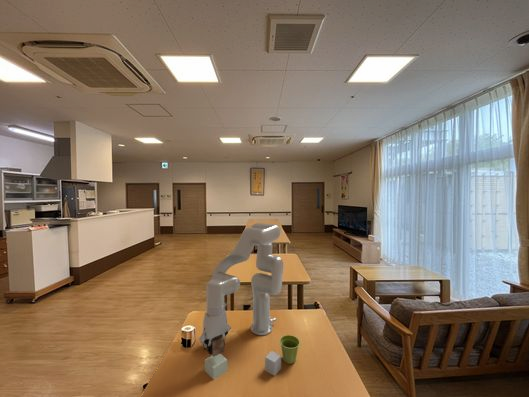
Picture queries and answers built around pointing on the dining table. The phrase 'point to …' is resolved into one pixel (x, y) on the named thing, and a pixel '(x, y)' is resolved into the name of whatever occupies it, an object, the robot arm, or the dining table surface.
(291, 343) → the plant pot
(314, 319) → the dining table surface
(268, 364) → the grey block
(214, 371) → the base block
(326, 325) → the dining table surface
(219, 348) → the walnut block
